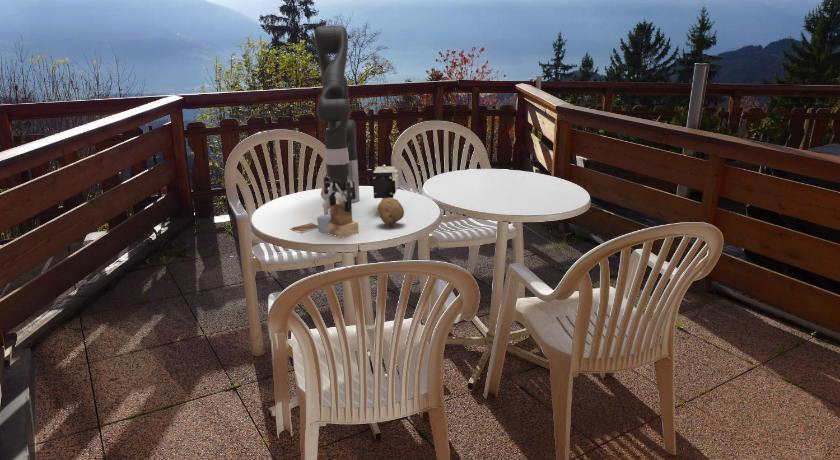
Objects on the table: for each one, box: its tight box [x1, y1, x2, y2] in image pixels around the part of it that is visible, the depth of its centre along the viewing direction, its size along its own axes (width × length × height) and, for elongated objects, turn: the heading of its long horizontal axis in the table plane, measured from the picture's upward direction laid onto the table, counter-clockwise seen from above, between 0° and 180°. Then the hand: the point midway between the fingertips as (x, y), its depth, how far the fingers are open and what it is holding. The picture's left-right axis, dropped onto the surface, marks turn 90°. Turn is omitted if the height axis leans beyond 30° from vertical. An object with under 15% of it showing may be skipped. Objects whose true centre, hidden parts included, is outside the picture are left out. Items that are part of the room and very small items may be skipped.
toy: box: [320, 180, 350, 215], centre depth 214 cm, size 9×19×15 cm, turn 161°
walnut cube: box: [329, 203, 353, 226], centre depth 191 cm, size 5×5×6 cm
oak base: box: [328, 220, 360, 238], centre depth 192 cm, size 7×7×4 cm
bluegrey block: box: [316, 213, 331, 234], centre depth 196 cm, size 5×5×6 cm
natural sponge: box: [377, 197, 405, 227], centre depth 199 cm, size 9×9×10 cm
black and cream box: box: [372, 164, 400, 202], centre depth 218 cm, size 18×8×18 cm, turn 177°
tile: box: [289, 222, 318, 234], centre depth 200 cm, size 7×9×1 cm
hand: (340, 209), depth 191 cm, fingers open, 8 cm apart
